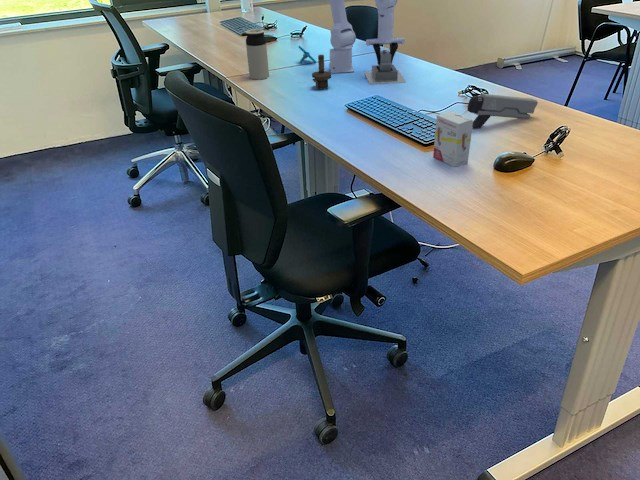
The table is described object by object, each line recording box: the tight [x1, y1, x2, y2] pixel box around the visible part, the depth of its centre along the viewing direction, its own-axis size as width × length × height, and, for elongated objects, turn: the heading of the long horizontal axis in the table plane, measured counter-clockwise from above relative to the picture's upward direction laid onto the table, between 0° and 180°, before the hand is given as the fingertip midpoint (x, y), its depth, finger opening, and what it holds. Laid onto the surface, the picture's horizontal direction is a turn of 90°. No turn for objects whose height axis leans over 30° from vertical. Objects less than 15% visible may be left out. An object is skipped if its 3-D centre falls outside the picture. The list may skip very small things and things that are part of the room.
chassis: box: [363, 64, 406, 85], centre depth 204 cm, size 14×16×4 cm
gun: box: [467, 93, 538, 130], centre depth 156 cm, size 2×25×10 cm, turn 112°
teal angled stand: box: [298, 45, 317, 64], centre depth 228 cm, size 11×6×10 cm
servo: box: [377, 49, 393, 71], centre depth 201 cm, size 4×10×7 cm, turn 3°
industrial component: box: [311, 54, 332, 90], centre depth 193 cm, size 9×7×12 cm
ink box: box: [432, 110, 474, 168], centre depth 133 cm, size 9×5×12 cm, turn 31°
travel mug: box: [245, 28, 270, 80], centre depth 207 cm, size 8×8×18 cm
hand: (384, 63), depth 202 cm, fingers closed on servo, 4 cm apart
